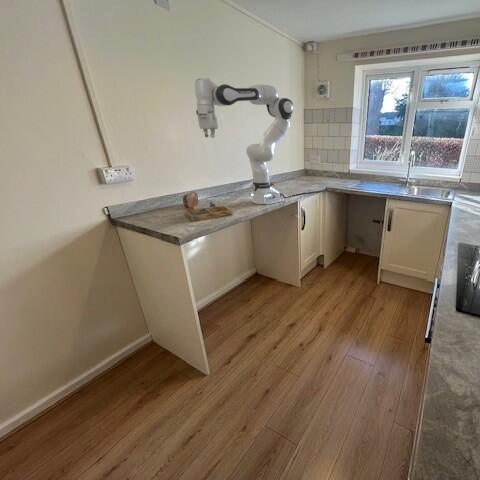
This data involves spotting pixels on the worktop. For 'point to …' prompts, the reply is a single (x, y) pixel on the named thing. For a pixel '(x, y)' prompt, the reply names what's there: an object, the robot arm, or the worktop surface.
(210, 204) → the blue spoon
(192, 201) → the tin
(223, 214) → the cutlery tray
